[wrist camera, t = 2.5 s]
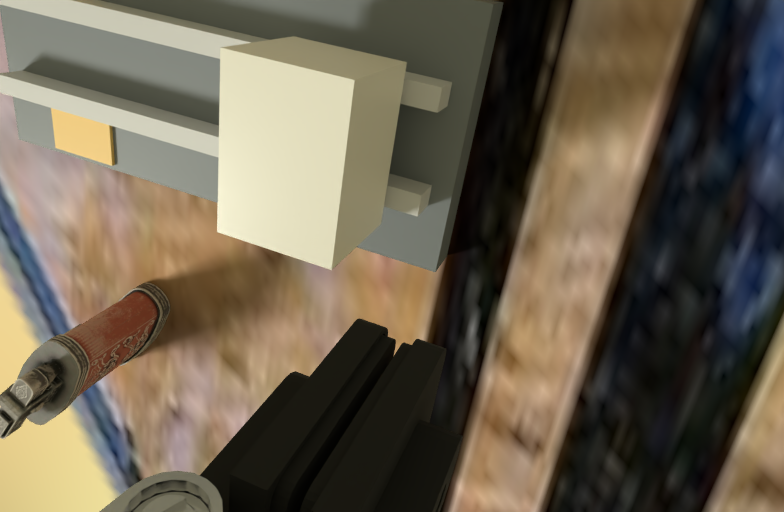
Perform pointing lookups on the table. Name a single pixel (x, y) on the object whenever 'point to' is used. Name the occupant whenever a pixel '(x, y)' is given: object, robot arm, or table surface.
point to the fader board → (202, 90)
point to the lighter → (82, 358)
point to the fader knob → (305, 145)
